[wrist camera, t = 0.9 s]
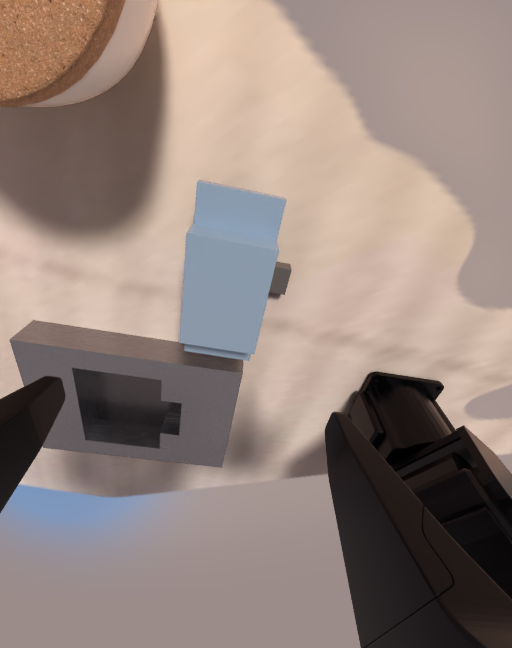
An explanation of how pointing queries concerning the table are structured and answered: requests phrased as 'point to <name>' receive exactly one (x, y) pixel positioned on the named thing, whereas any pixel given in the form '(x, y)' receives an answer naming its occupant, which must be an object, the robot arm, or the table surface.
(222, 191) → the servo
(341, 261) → the table surface
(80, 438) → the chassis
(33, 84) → the lidded jar
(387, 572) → the robot arm
